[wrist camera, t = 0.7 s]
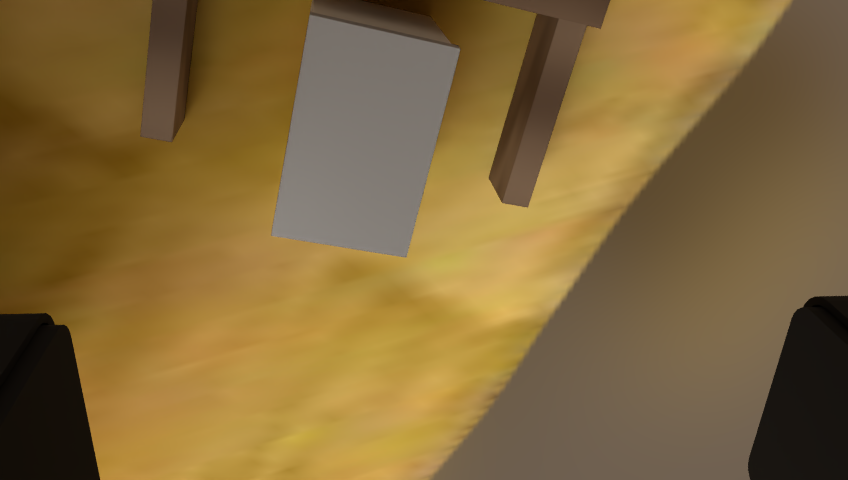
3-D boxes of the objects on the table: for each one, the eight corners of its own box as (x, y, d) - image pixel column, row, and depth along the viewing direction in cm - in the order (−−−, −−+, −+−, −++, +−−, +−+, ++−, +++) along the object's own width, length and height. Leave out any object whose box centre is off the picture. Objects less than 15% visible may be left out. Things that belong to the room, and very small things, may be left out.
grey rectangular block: (391, 189, 35) (406, 257, 29) (280, 169, 34) (271, 235, 28) (433, 14, 32) (460, 48, 26) (312, -14, 31) (310, 14, 25)
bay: (512, 182, 36) (536, 221, 32) (155, 114, 32) (131, 148, 28) (574, -19, 32) (611, -4, 28) (178, -121, 29) (154, -120, 25)
